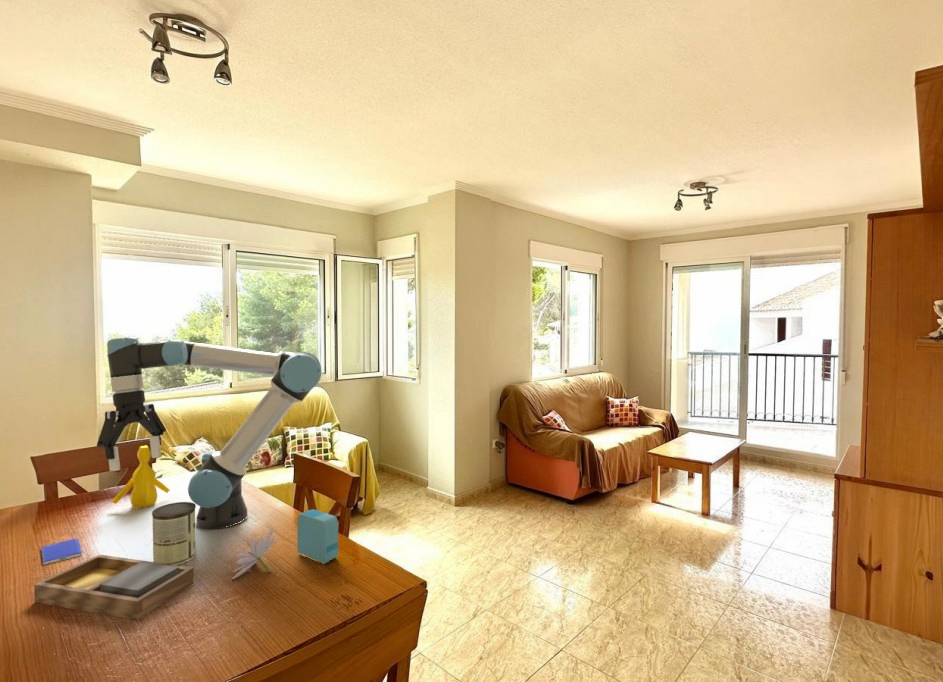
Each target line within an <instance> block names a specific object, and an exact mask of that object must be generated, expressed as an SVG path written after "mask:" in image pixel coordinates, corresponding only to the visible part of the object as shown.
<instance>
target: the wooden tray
mask: <svg viewBox="0 0 943 682" xmlns="http://www.w3.org/2000/svg"><path fill="white" fill-rule="evenodd" d="M194 571H195V570H194V567H190V566H183V565H170V564H163V563H156V562H153V561H147V560H141V559H134V558H128V557H120V556H112V555H106V554H105V555H104V554H97V555H95V556H93V557H91V558H89V559H87V560H85V561H82V562H80V563H78V564H75V565H73V566H72V567H69V568H67V569H65V570H62V571H61V572H59V573H56V574H54V575H52V576H50V577H47V578H45V579H43V580H41V581H39V582H37V583H35V584H33V585H34V586H33V587H34V588H33V589H34V603H37V604H42V605H48V606H54V607H60V608H63V609H64V608H65V609H72V610H76V611H81V610H82V611H81V612H86V613H87V612H89V613H92V612H94V613H93V614H98V613H100V614H99V615H104V614H106V615H105V616H109V615H110V617H116V618H121V617H122V619H126V618H130V619H129V620H132V619H136V620H135V621H137V620H138V619H139V620H141V619H142V618H144V617H145V616H144V615H146V614H147V613H149V612H150V613H151V611H152V610H153V611H155V610H157V609H158V608H160V607H161V606H163V605H164V604H166V603H167V602H169V601H171V600H172V599H173V598H174V596H175V597H176V595H177V596H178V595H180V594H182V593H183V592H185V591H186V590H187V589H189V588H190V587H189V586H191V585H192V584H194V582H195V581H194V580H195V579H194V576H195V575H194ZM194 585H195V584H194ZM192 586H193V585H192ZM192 586H191V587H192ZM188 587H189V588H188ZM186 588H187V589H186ZM185 589H186V590H185ZM182 591H183V592H182ZM179 593H180V594H179ZM171 598H172V599H171ZM168 600H169V601H168ZM166 601H167V602H166ZM165 602H166V603H165ZM163 603H164V604H163ZM162 604H163V605H162ZM160 605H161V606H160ZM159 606H160V607H159ZM157 607H158V608H157ZM154 609H155V610H154ZM153 611H152V612H153ZM150 613H149V614H150ZM147 615H148V614H147ZM147 615H146V616H147ZM143 616H144V617H143ZM141 617H142V618H141ZM140 618H141V619H140ZM139 620H138V621H139Z"/></svg>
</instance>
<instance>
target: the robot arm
mask: <svg viewBox="0 0 943 682" xmlns="http://www.w3.org/2000/svg"><path fill="white" fill-rule="evenodd" d="M106 347H107V349H106V350H107V355H106V358H107V361H108V367H109V368H108V369H109V374H110V375H109V377H110V385H111V392H113V395H112V401H113V402H112V403H113V406H114V407H115V410H108V411H105V412H104V422H103V425H102V428H101V431H100V434H99V437H98V439H97V443H96V447H97V448H101V449H104V451H105V459H106V460H108V464H109V465H108V468H109V472H113V471H114V472H115V471H121V463H120V455H119V447H118V446H116V444H117V442H118V440H119V439H120V436H121V435H122V434H123V432H124V429H125V428H126V426H128V425H129V424H134V423H139V424H140V425H141V426H142V427H143V428H144V430H146V431H147V432H148V433H149V434H150V435H151V436H149V444H150V452H151V458H152V459H158V458H159V459H160V458H162V450H161V446H162V439H161V438H162V437H161V436H163V435H164V432H166V431H167V429H166V426H165V425H164V423H163V422H162V420H161V418H160V416H159V415H158V414H157V411H156V409H155V405H154V403H149V404H144V403H145V402H146V397H145V391H144V390H143V388H144V381H143V380H144V379H143V372H142V370H144V369H153V368H161V367H174V366H179V365H182V366H183V365H184V366H191V367H193V366H194V367H202V368H208V369H215V370H225V371H232V372H241V373H249V374H256V375H265V376H270V377H271V376H272V378H271V379H270V385H271V386H270V389H269V390H267V392H266V394H265V395H264V396H263V398H261V400H260V401H259V402H258V403H257V405H256V406H255V408H254V409H253V410H252V411H251V413H249V415H248V417H247V418H246V419H245V420H244V421H243V423H242V424H241V425H240V426H239V428H238V429H237V430H236V431H235V432H234V434H233V435H232V437H231V438H230V439H229V440H228V441H227V443H226V444H225V446H223V448H222V449H221V450H215V451H209V452H205V453H204V454H202V456H201V460H200V461H201V467H200V468H199V470H197V472H196V473H194V475H192V477H191V478H190V480H189V484H188V487H187V493H188V496H189V499H190V500H191V502H192V503H194V504H195V505H196V506H198V507H199V509H198V512H197V515H196V517H195V526H197V527H198V528H200V529H204V530H205V529H206V530H215V529H214V528H219V529H222V528H221V527H225V528H227V527H226V526H229V527H231V526H230V525H233V524H235V523H238V522H240V521H242V520H243V519H245V518H246V517H247V518H248V508H247V506H246V502H245V500H244V497H243V495H242V493H243V491H242V488H243V487H242V479H243V478H244V476H245V475H246V474H247V467H246V466H247V465H248V463H249V462H250V461H251V459H252V458H253V457H254V456H255V455H256V453H257V452H258V451H259V449H261V446H262V445H263V444H264V443H265V441H266V440H267V439H268V438H269V436H270V435H271V434H272V433H273V431H274V430H275V429H276V428H277V426H278V425H279V423H280V422H281V421H282V420H283V418H284V417H285V416H286V415H287V413H288V412H289V411H290V410H291V408H292V407H293V406H294V404H296V403H302V402H303V400H305V398H307V395H308V394H309V393H311V390H313V389H314V388H315V387H316V386H317V385H318V383H319V382H320V381H321V377H322V366H321V362H320V360H319V358H317V357H316V356H315V355H314V354H312V353H310V352H306V351H305V352H304V351H298V352H294V351H292V352H291V351H279V352H278V353H273V352H266V351H259V350H253V349H244V348H236V347H230V346H221V345H215V344H207V343H200V342H199V343H198V342H193V341H186V340H184V339H168V340H161V341H152V342H141V343H140V341H139V340H138V338H137V337H133V336H132V337H120V338H119V337H117V338H112V339H109V340H107V344H106ZM247 518H246V519H247ZM246 519H245V520H246ZM233 526H234V525H233Z"/></svg>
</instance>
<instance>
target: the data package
mask: <svg viewBox="0 0 943 682" xmlns="http://www.w3.org/2000/svg"><path fill="white" fill-rule="evenodd" d="M296 527H297V528H296V529H297V553H298V554H299V553H301V554H304V555H306V556H308V557H310V558H312V559H315V560H317V561H320V562H322V563H326V564H328V563H330V562H331V561H330V560H332V559H334V558H336V557H337V558H338V556H339V520H338V518H337V516H335V515H332V514H330V513H326V512H323V511H320V510H316V509H313V508H312V509H309V510H306V511H304V512H301V513H299V514H298V515H297V526H296ZM337 558H336V559H337ZM334 560H335V559H334ZM329 561H330V562H329ZM332 561H333V560H332ZM327 562H328V563H327Z"/></svg>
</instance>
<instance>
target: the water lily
mask: <svg viewBox="0 0 943 682" xmlns="http://www.w3.org/2000/svg"><path fill="white" fill-rule="evenodd" d="M273 530H274V528H273V527H272V528H271V529H270V530H269V532H268V533H267V535H266V537H265V539H264V535H262V536H261V537H260V538H259V540H258V542H257V541H256V540H255V539H251V541H250V544H249V549H250V551H248V552H241V553H238V554H236V557H238V558H237V559H235V564H238V565H240V567H237V568H236V569H235V570H234V571H232V573H235V572H237V573H236V574H235V575H234V576H233V577H232V578H231V579H233V580H235V579H237V578H238V577H240V576H241V575H243V574H244V573H245V572H247V571H249V569H251V568H252V567H253V566H254V564H256V563H258V562H259V563H260V564H261V566H263V567H264V569H265V570H266V572H270V571H271V570H270V568H269V567H268V566H267V564H266V563H265V562H264V561H263V560H262V559H261V558H262V557H263V556H264V555H265V554H266V553H267V552H268V551H269V549H270V548H271V547H272V545H273V543H274V541H275V540H276V537H277V534H275V535H274V536H273V537H272V534H273ZM270 573H271V572H270Z"/></svg>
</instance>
